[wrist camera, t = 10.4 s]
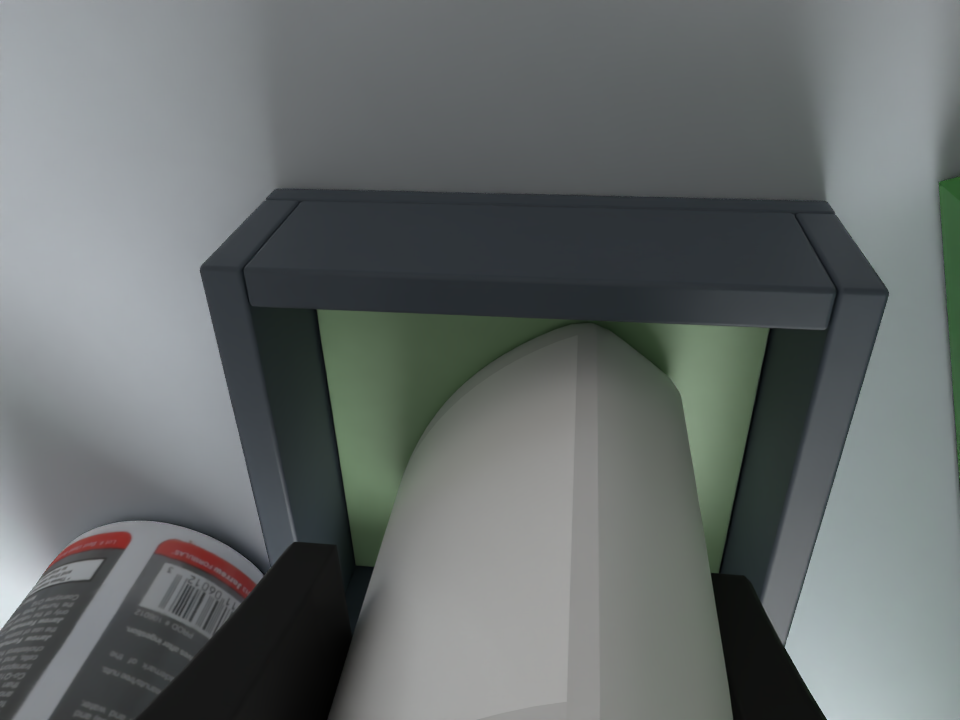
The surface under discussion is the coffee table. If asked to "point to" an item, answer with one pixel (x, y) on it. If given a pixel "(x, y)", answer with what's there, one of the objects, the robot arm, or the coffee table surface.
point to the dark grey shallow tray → (524, 316)
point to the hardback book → (952, 282)
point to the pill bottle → (117, 621)
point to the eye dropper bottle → (544, 553)
